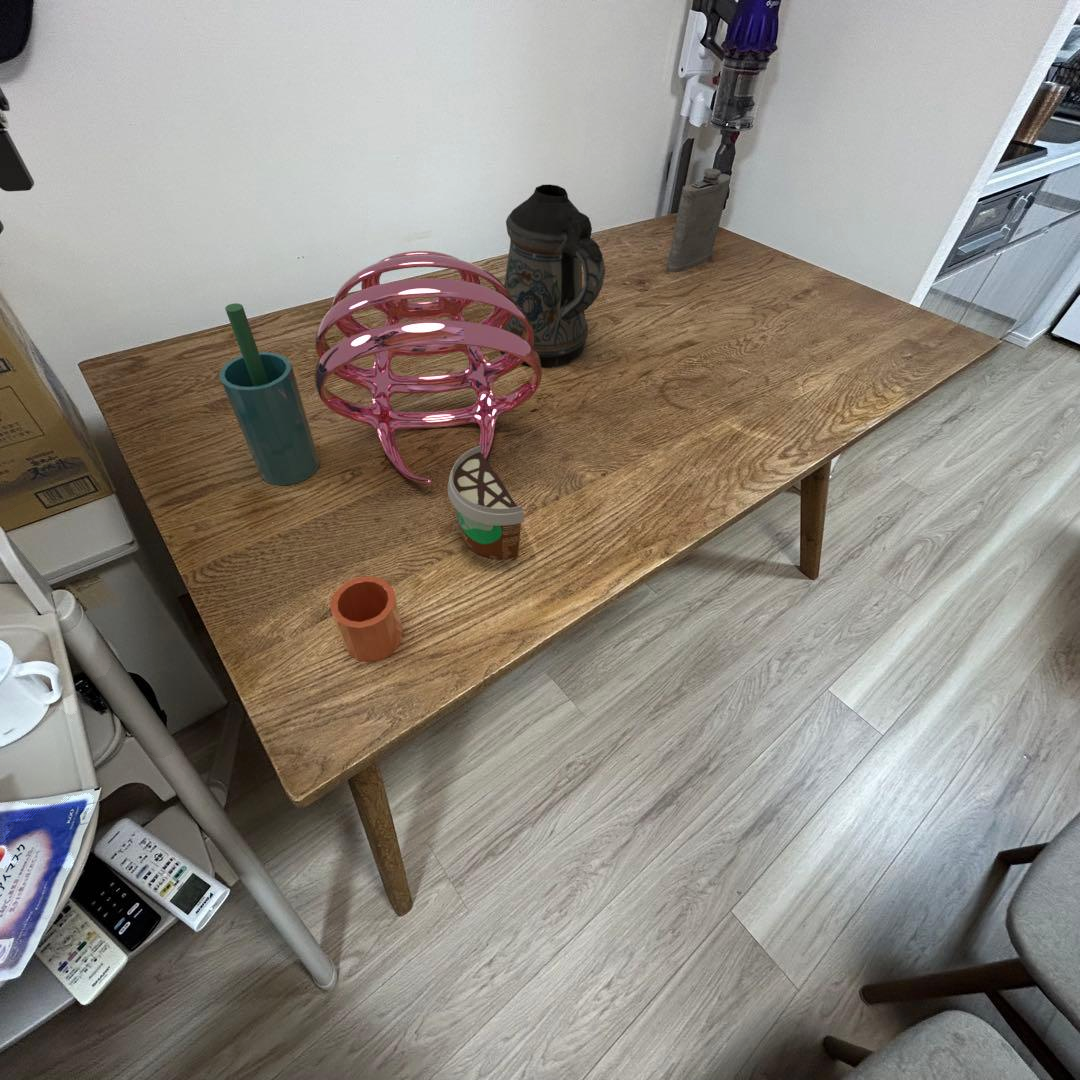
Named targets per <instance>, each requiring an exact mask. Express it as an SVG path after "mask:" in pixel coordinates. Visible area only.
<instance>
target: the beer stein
mask: <svg viewBox="0 0 1080 1080" xmlns="http://www.w3.org/2000/svg"><path fill="white" fill-rule="evenodd" d="M568 195H569V194H568V192H567V190H566V188H564V187H562V186H560V185H557V184H556V185H555V184H541V185H539V186H536V187H535V188H534V191H533V193H532V194H531V195H530V196H529V197H528V198H527V199H526V200H524V201H523V202H521V203H520V204H518V205H517V206H516V207H515V208H513V209H512V211H511V212H510V213H509V214H508V216H507V218H506V220H505V227H506V232H507V235H508V238H510V240H509V250H508V257H507V264H506V271H505V278H504V283H503V285H504V286H505V287H506V289H507V290H508V292H509V294H510V296H511V298H512V300H513V301H515V302H516V303H517V304H518V305H519V306H520V307H521V308H522V309H523V310H524V312H525V313H526V315H527V316H528V318H529V320H530V322H531V325H532V328H533V331H534V345H533V347H534V348H535V350H536V351H537V353H538V355H539V357H540V360H541V366H542V369H543V368H545V369H546V368H547V369H551V368H555V367H559V366H563V365H568V364H569V363H571V362H573V361H575V360H576V359H578V358H579V356H580V355H581V354H582V352H583V350H584V347H585V344H586V342H587V338H588V335H589V325H588V322H587V318H586V314H585V311H586V310H588V308H590V307H591V306H592V304H593V303H594V302H595V301H596V300H597V299H598V297H599V295H600V293H601V290H602V288H603V286H604V281H605V276H606V266H605V260H604V257H603V253H602V251H601V249H600V246H599V244H598V243H597V242H596V241H595V240H594V239H592V238H591V236H592V231H593V227H592V223H591V220H590V217H589V216H588V215H587V214H585V213H583V212H580V211H579V209H578V207H576V206H575V205H574V203H573V202H572V201H571V200H570V199H569V196H568ZM583 274H584V275H583ZM583 276H584V280H583ZM503 329H504V330H507V331H509V332H512V333H514V334H516V335H518V336H520V337H521V336H522V334H523V330H524V325H523V323H522V322H521V321H520V320H519V319H517V318H516V317H515V316H513V315H512V316H511V318H510V320H509V322H508V324H507V325H506V326H505V327H504V328H503ZM499 353H500V354H501V356H503V355H504V354H506V353H505V352H502V351H499ZM520 366H525V367H530V368H532V367H531V366H530V365H529V364H528V363H526V362H525V361H524V362H523V363H522V364H520Z"/></svg>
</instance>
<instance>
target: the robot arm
mask: <svg viewBox="0 0 1080 1080" xmlns="http://www.w3.org/2000/svg"><path fill="white" fill-rule="evenodd" d="M10 109H11V108H10V103H9V100H8V98H7V96H6V95H5V93H4V91H3V89H2V88H1V87H0V190H2V191H4V192H27V191H30V190H32V189H33V187H34V185H35V180H34V178H33V176H32V175H31V173H30V171H29V169H28V167H27V166H26V164H25V162H24V160H23V157H22V156H21V154H20V152H19V150H18V148H17V146H16V145H15V142H14V140H13V139H12V137H11V136H10V133H9V131H8V130H7V129H9V128H10V125H9V121H8V118H7V116H6V115H5V113H4V112H10ZM4 229H5V228H4V224H3V222H2V221H1V220H0V235H1V234H2V232H3V231H4Z"/></svg>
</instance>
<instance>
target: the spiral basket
mask: <svg viewBox="0 0 1080 1080" xmlns="http://www.w3.org/2000/svg"><path fill="white" fill-rule="evenodd" d="M411 268H413V269H414V268H440V269H449V270H455V271H458V272H459V275H460V277H461V279H449V278H437V277H436V278H435V277H434V278H429V277H428V278H427V277H426V278H410V279H401V280H395V281H390V282H385V283H381V282H380V278H381V276H382V274H384V273H388V272H392V271H398V270H403V269H404V270H405V269H411ZM480 278H481V279H483V280H485V281H487V282H488V283H489V284H491V285H492V287H494V288H491V287H488V286H485V285H482V284H481V280H480ZM360 283H361V284H360ZM358 284H360V285H361V290H359V291H356V292H354V293H352V294H350V295H348V294H349V292H350V291H351V290H352V289H353V288H355V286H357V285H358ZM425 298H430V299H431V298H438V299H436V300H432V301H420V302H419V301H409V300H411V299H425ZM473 302H475V303H476V302H477V303H481V304H485V305H489V306H491V307H494V309H493V311H492V312H491V313H490V314H489V315H488V316H487V317H486V318H484V319H483V320H482V321H481V322H473V321H467V320H466V318H465V317H464V314H463V310H464V309H466V308H467V307H469V306H470V305H471V304H472V303H473ZM370 307H373V308H375V309H376V310H378V311H380V312H382V313H384V314H385V315H386V320H385V323H384V325H383V326H379V327H374V328H370V327H368V326H366V325H364V324H363V323H361V322H359V321H358V320H357V319H356V318H354V316H353V314H355V313H357V312H359V311H362V310H365V309H368V308H370ZM512 315H513V316H515V317H516V318H517V319H519V320H520V321H521V322H522V323H523V325H524V330H523V334H522V336H521V337H520V336H518V335H516V334H514V333H512V332H509V331H507V330H504V329H503V328H504V327H505V326H506V325H507V324H508V322H509V320H510V318H511V316H512ZM443 317H446V318H447V317H448V318H449V319H438V318H443ZM403 319H409V320H412V321H404V322H401V320H403ZM450 319H451V320H450ZM413 320H414V321H413ZM334 326H336V328H337V329H338V331H339V332H340V333H341V334H343V336H344V337H346V338H345V339H343V340H341V341H339V342H338V343H336V344H335V345H333V346H332V347H330V346H329V344H328V342H327V339H326V335H327V333H328V332H329V331H330V329H332V327H334ZM315 335H316V336H315V344H314V345H315V352H316V355H317V358H318V362H317V364H316V367H315V370H314V385H315V390H316V393H317V395H318V397H319V399H320V401H321V402H322V403H323V404H324V405H325V406H326V408H328V409H329V410H330V411H332V412H333V413H334V414H337V415H339V416H341V417H343V418H346V419H348V420H351V421H354V422H356V423H361V424H364V425H367V426H370V427H372V428H373V429H374V431H375V432H376V435H377V436H378V438H379V441H380V444H381V446H382V449H383V451H384V453H385V455H386V456H387V458H388V460H389V461H390V463H391V464H392V466H393V467H394V468H395V469H396V470H397V471H398V472H399V473H400V474H401V475H402V476H403V477H405V478H407V480H410V481H412V482H413V483H416V484H419V485H424V486H428V485H431V484H432V480H431V479H430V478H427V477H423V476H420V475H418V474H416V473H415V472H413V471H412V470H411V469H410V468H409V466H408V465H407V463H406V462H405V460H404V458H403V456H402V454H401V451H400V449H399V447H398V444H397V441H396V437H395V431H397V430H400V429H401V430H402V429H408V430H409V429H412V430H414V429H420V430H421V429H437V428H439V429H440V428H449V427H455V426H456V427H457V426H461V425H467V424H477V425H478V427H479V439H478V446H480V445H481V450H482V455H483V456H484V458H485V459H486V460H487V459H488V456H489V454H490V452H491V449H492V445H493V441H494V436H495V429H496V423H497V421H498V419H499V417H501V416H503V414H505V413H508V412H510V411H512V410H513V409H516V408H518V407H520V406H521V405H522V404H524V403H525V402H527V401H528V400H530V399H531V398H532V397H533V396H534V395H535V394H536V392H537V391H538V389H539V387H540V385H541V381H542V376H543V368H542V366H541V360H540V357H539V355H538V353H537V351H536V350H535V348H534V347H533V345H534V331H533V328H532V325H531V322H530V320H529V318H528V316H527V315H526V313H525V312H524V310H523V309H522V308H521V307H520V306H519V305H518V304H517V303H516V302H515V301H513V300H512V298H511V296H510V294H509V292H508V290H507V289H506V287H505V286H504V283H503V282H501V280H499V279H498V278H497V277H496V276H495V275H493V274H492V273H491V272H489V271H488V270H486V269H484V268H482V267H481V266H479V265H477V264H474V263H472V262H469V261H466V260H463V259H460V258H458V257H456V256H453V255H450V254H447V253H443V252H439V251H433V250H432V251H431V250H413V251H412V250H411V251H405V252H399V253H396V254H391V255H390V256H387V257H385V258H383V259H380V260H379V261H377V262H376V263H372V264H371V265H368V266H366V267H363V268H362V269H361V270H359V271H357V272H356V273H354V274H353V275H352V276H350V277H349V278H348V279H346V280H345V282H344V283H343V284H342V285H341V286H340V288H339V289H338V290H337V292H336V294H335V296H334V297H333V300H332V304H331V308H330V309H329V310H328V311H327V312H326V314H325V315H324V316H323V317H322V319H321V321H320V323H319V325H318V328H317V332H316V334H315ZM482 348H485V349H491V350H495V351H498V352H500V351H502V352H505V353H506V354H504V355H501V356H499V357H498V358H496V359H493V360H487V359H486V357H485V356H484V354H483V351H482ZM454 353H464V354H465V355H466V357H467V360H468V366H467V368H466V369H464V370H461V371H456V372H450V373H443V374H432V375H401V374H396V373H394V372H393V371H392V369H391V362H392V360H393V359H394V357H397V356H407V357H431V356H433V357H435V356H442V355H448V354H454ZM371 355H374V362H373V365H372V367H370V368H364V367H362V366H358V365H356V364H354V363H353V362H355V361H358V360H360V359H362V358H365V357H368V356H371ZM524 361H525V362H526V363H528V364H529V365H530V366H531V367H530V368H531V369H532V370H533V373H532V375H530V376H529V378H528V379H527V380H526V381H525V382H524V383H523V384H522V385H520V386H519V387H517V388H516V389H514V390H512V391H511V392H509V393H507V394H505V395H503V396H496V394H495V393H494V383H496V381H497V380H498V379H499V378H501V377H503V376H506V375H508V374H509V373H511V372H512V371H514V370H515V369H517V368H518V367H519V366H521V364H522V363H523V362H524ZM332 375H334V376H335V377H338V378H339V379H341V380H342V381H345V382H348V383H350V384H352V385H356V386H359V387H362V388H364V389H366V390H367V391H369V393H370V396H371V404H370V405H369V406H364V405H359V404H357V403H353V402H350V401H348V400H346V399H343V398H341V397H339V396H338V395H336V394H335V393H333V392H331V391H330V390H329V389H328V388H327V387H326V385H325V384H326V382H327V381H328V379H329V378H330V377H331V376H332ZM466 389H470V390H473V391H475V393H476V401H475V403H473V404H472V405H469V406H467V407H462V408H461V407H460V408H457V409H456V408H455V409H449V410H448V409H447V410H440V411H438V410H437V411H420V412H419V411H416V412H415V411H413V412H412V411H410V412H409V411H398V410H395V409H394V408H393V407H392V406H391V402H390V401H391V397H392V396H393V395H395V394H408V395H410V394H411V395H412V394H414V395H417V394H418V395H421V394H422V395H423V394H439V393H440V394H441V393H448V392H454V391H461V390H466Z"/></svg>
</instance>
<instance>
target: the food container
mask: <svg viewBox="0 0 1080 1080" xmlns="http://www.w3.org/2000/svg"><path fill="white" fill-rule="evenodd" d="M448 477H449V478H448V483H447V496H448V499H449V501H450V503H451V505H452V506H453V507H454V509H455V510H456V513H457V517H458V523H459V528H460V534H461V538H462V541H463V544H464V545H465V546H466V547H467V548H468V549H469V550H470V551H471V552H472V553H474V554H475V555H477V556H478V557H479V556H480V557H481V558H484V559H489V560H509V559H513V558H517V557H518V556H519V549H520V547H519V546H520V538H521V537H520V536H521V527H522V523H525V515H524V510H523V505H517V503H516V502H515V501H514V499H513V497H512V496H511V495H510V493H509V491H508V490H507V488H506V486H505V484H504V483H503V481H502V480H501V478H500V476H499V475H498V474H497V473H496V471H494V469H493V468H492V467H491V465H490V464H489V462H488V461H487V458H486V459H485V458H484V456H483V455H482V450H481V445H480V446H474V447H473V448H471V449H468V450H467V451H465V452H464V453H462V455H460V457H458V459H457V460H456V461H455V462H454V464H453V466H452V468H451V471H450V473H449V476H448Z"/></svg>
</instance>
